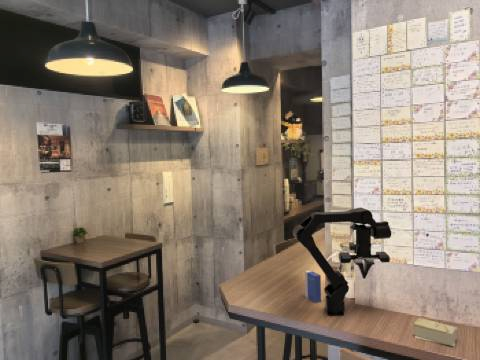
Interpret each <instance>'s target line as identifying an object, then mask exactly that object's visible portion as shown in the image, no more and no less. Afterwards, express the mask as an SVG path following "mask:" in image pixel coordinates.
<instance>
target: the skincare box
mask: <svg viewBox="0 0 480 360" xmlns="http://www.w3.org/2000/svg"><path fill="white" fill-rule="evenodd" d="M413 335H414V336H415V335H416V336H419V337H422V338H426V339H429V340H433V341H436V342H440V343H439V344H441V343H443V344H442V345H446V346H450V347H454V346H453V344H454V343H455V344H456V341H457V339H458V337H457V335H458V327H457V326H452V325H450V324H445V323H441V322H437V321H433V320H430V319H426V318H422V317H419V318H418V319H417V320H415V322H414V323H413ZM436 342H435V343H436Z"/></svg>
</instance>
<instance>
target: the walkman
mask: <svg viewBox="0 0 480 360" xmlns="http://www.w3.org/2000/svg"><path fill="white" fill-rule="evenodd" d="M321 278H322V277H321V274H319V272H314V271H313V270H304V290H305V291H304V297H305V298H306V299H308V300H310V301H312V302H313V303H315V304H317V303H321V302H322V287H321V285H322V283H321V282H322V279H321Z"/></svg>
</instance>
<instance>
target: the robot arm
mask: <svg viewBox="0 0 480 360" xmlns="http://www.w3.org/2000/svg"><path fill="white" fill-rule="evenodd" d="M327 223H328V224H330V223H353V224H352V225H350V226H349V228H350V229H351V230H353V231H355V242H349V243H348V250H349V251H351V252H353V253H354V254H350V252H339V253H338V260H339V262H340V264H350V263H351V262H352V261H353V263H354V264H355V265H356V266H357V267H358V269H359V271H360V275H361V277H362V279H367V275H368V274H369V271H370V269H371V268H372V266H374V265H375V262H374V261H375V260H379V261H380V262H381V263H390V262H391V261H390V260H391V258H390V255H389V254H388V253H387V252H386V251H375V254H372V238H373V239H374V240H385V239H390V238H391V237H392V230H391V229H392V228H391V227H390V225H389V222H388V221H386V220H383V221H376V220H375V218H374V217H373V213H372V211H370V210H369V209H366V208H364V207H355V208H352V209H349V210H346V211H345V210H343V211H324V212H323V211H321V212H318V211H314V212H312V213H310V215H309V216H308V217H307V218H305V219H304V220H303V221H301V222H300V224H298V225H296V226H295V227H294V228H293V229H292V235H293V237H294V238H295V239H296V240H297V241H298V242H299V243H300V244H301V245H302V246H303V247H304V248H305V249H306V250H307V251H308V253H309V254H310V255H311V257H312V258H313V260H314V261H315V262H316V264H317V265H318V267H319V268H320V270H321V271H322V272H323V273H324V275H325V278H326V280H327V282H328V284H326V286H325V287H324V288H323V290H324V293H325V294H326V295H325V307H324V308H325V312H326V314H327V316H345V313H344V312H345V311H346V310H345V306H346V305H345V297H346V295H347V294H348V292H349V291H350V290H349V289H350V287H349V285H348V284H349V282H348V281H347V280H346V278H345V276H344V274H342V273H341V272H340V271H339V270H336V271H335V270H334V268H333V267H332V266H331V264H330V263H329V262H328V260H327V259H326V258H325V256H324V254H323V253H322V252H321V250H320V249H319V247H318V246H317V245H316V242H315V239H314V237H313V234H314V233H315V232H316V231H317V228H318V227H319V226H320V225H321V224H327Z"/></svg>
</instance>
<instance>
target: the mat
mask: <svg viewBox="0 0 480 360" xmlns="http://www.w3.org/2000/svg"><path fill="white" fill-rule="evenodd" d="M414 338H415V339H419V340H424V341H428V342H432V343H436V344H441V345H444V344H443V343H440V342H436V341H433V340H429V339H426V338H422V337H419V336H416V335H414ZM455 346H456V342H455V343H454V344H453V346H452V347H455Z"/></svg>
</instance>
